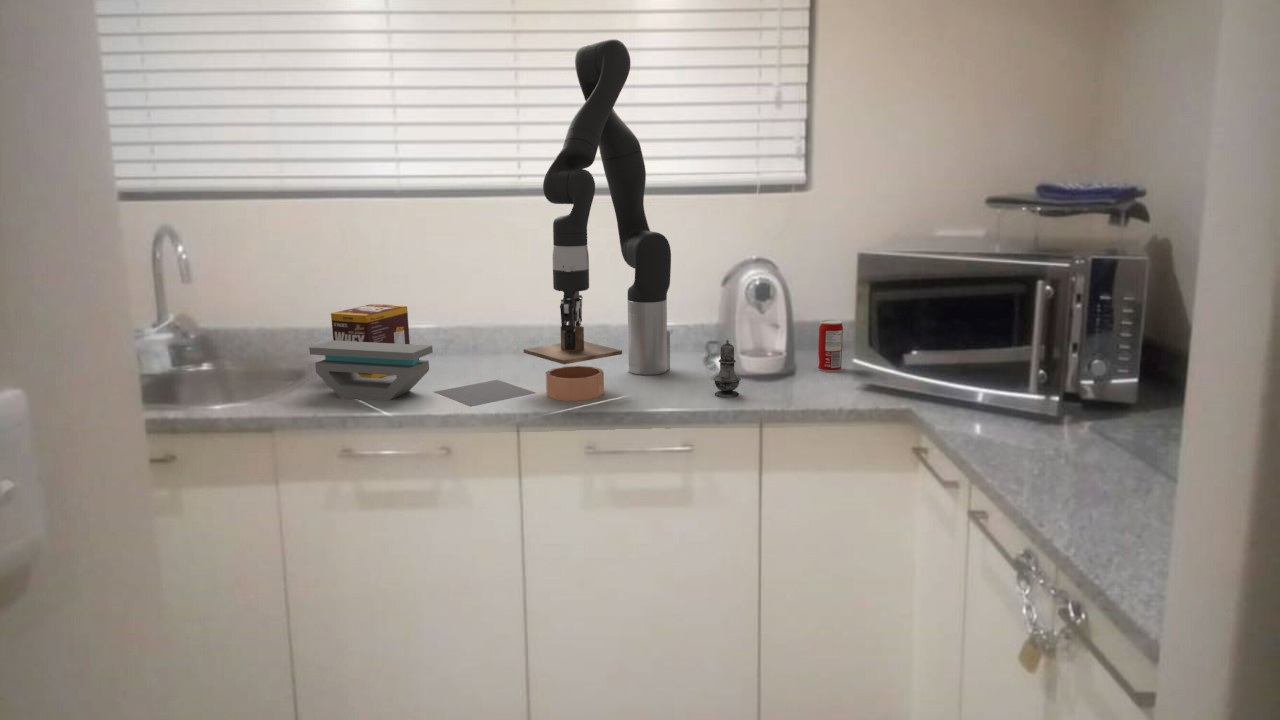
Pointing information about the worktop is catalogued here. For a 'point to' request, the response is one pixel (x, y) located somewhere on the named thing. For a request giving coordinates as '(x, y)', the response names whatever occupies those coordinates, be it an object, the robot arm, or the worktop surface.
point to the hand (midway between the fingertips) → (572, 346)
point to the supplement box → (372, 326)
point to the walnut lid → (580, 353)
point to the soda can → (830, 345)
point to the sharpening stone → (370, 368)
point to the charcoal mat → (484, 392)
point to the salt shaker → (727, 373)
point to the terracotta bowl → (574, 383)
